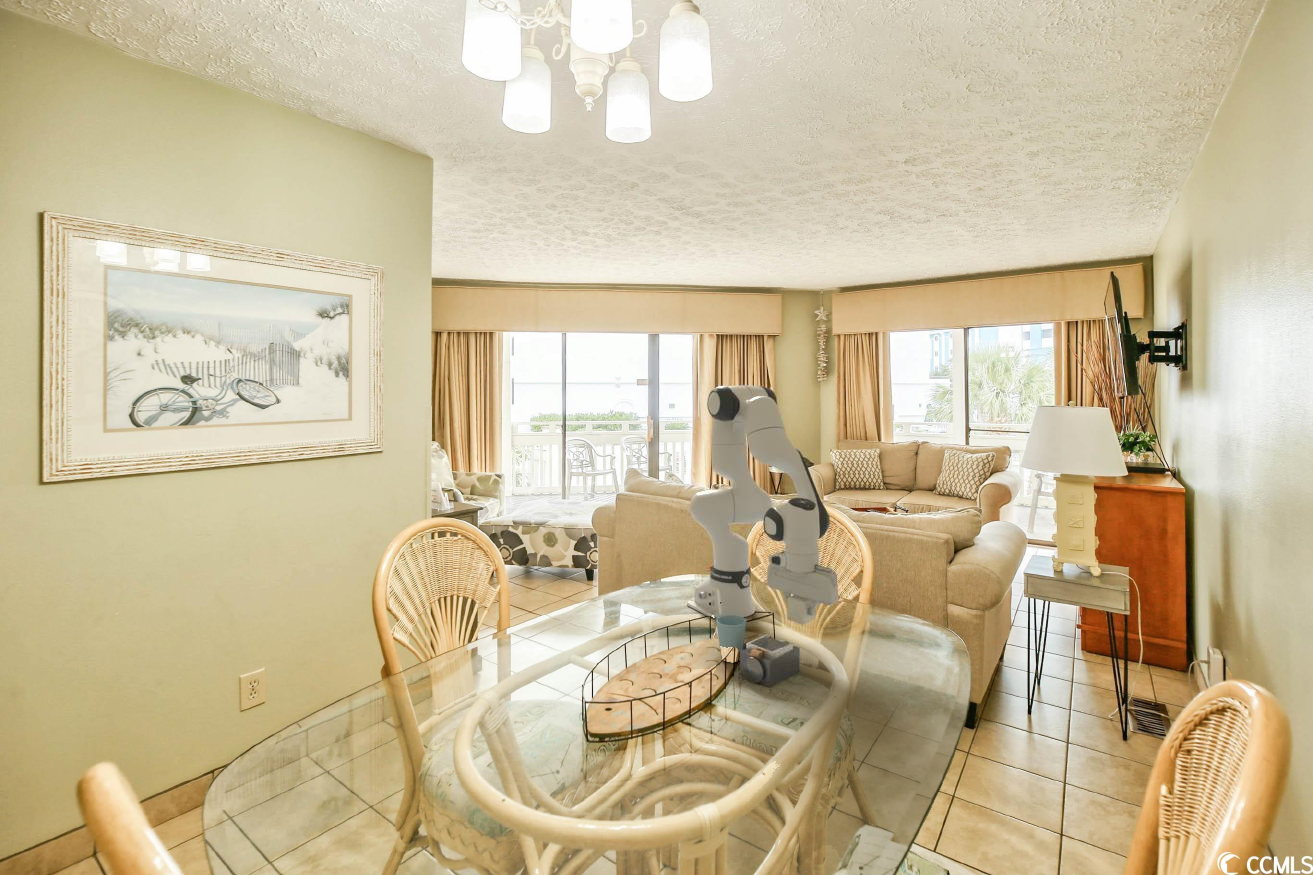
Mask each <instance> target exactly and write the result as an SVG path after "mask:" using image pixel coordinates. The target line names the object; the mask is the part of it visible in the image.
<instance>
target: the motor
mask: <svg viewBox="0 0 1313 875" xmlns="http://www.w3.org/2000/svg"><path fill="white" fill-rule="evenodd" d="M745 647H746V648H743V650H742V651H740V662H739V664H740V665H739V668H740V669H739V671H740V672H739V673H740V674H739V675H740V676H742V677H744V678H746V679H747V680H748V681H749V682H750V683H752V684H760V685H764V687H765V686H766V687H767V688H772V687H774V686H776V685H777V684H779V683H781V682H783V681H785V680H787V679H788V678H790V677H792V676H795V675H796V674H798V673H800V671H801V670H800V668H801V666H800V665H801V664H800V663H801V662H800V660H801V659H800V658H801V657H800V650H801V649H800V647H799V646H796V645H794V643H792V642H789V641H787V640H779V639H776V638H772V637H769V636H768V634H764V635H761V636H759V637H757V638H755V639H752V640H750V641H749V642H746V643H745Z"/></svg>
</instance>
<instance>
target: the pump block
mask: <svg viewBox="0 0 1313 875" xmlns="http://www.w3.org/2000/svg"><path fill="white" fill-rule="evenodd" d="M812 605H813V604H811V600H809V599H806V598H803V597H800V596H796V595H793V594H792V595H791V596H790V597H788V608H787V620H788V621H792V622H794V623H797V624H800V625H802V626H804V625H806V624H809V623H810V622H812V621H814V620H815V619H816V618H815V617H816V615H815V616H810V615H808V614H807V613H808V611H807V609H808V608H810V607H812Z"/></svg>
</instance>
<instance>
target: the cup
mask: <svg viewBox="0 0 1313 875" xmlns="http://www.w3.org/2000/svg"><path fill="white" fill-rule="evenodd" d="M715 622H716V628H717V636H718V642H719V643H718V644H719V647H720V646H722V647H726V648H728V647H736V648H737V649H738V650H739V652H740V651H742V650H744V647H745V645H744V644H745V636H746V627H747V619H746V617H741V616H737V615H724V616H720V617H718V618H716V621H715Z"/></svg>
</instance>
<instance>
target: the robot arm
mask: <svg viewBox="0 0 1313 875" xmlns="http://www.w3.org/2000/svg"><path fill="white" fill-rule="evenodd" d="M776 395H777V394H775V392H774V390H772V389H770V387H766V386H762V385H760V386H757V385H756V386H755V385H749V384H741V385H728V386H727V385H721V386H717V387H714V388H712V389H711V391H710V393H709V394H708V397H707V403H706V404H707V406H706V407H707V410H708V413H709V415H710V417H711V418H712V419H713V421H712V425H711V435H710V436H711V437H710V438H711V440H710V441H711V468H712V470H713V472H714V473H715V474H716V475H718V476H720V477H721V478H723V479H726V480H728V481H729V482H730V484H731V488H724V489H721V488H719V489H707V490H703V491H699V492H695V493H694V495H693V496H692V498H691V499H690V503H689V512H690V515H691V517H692V519H693V520H694V521H695V522H696V523H698V524H699V525H700V526H701V527H702V528H704V530H705V531H706V532H707V534H708V535H709V537H710V540H711V543H712V551H713V565H712V566H710V567H707V572H710V574H709V576H708V577H707V578H706V579H704V580H703V581H701V582H700V583H699V584H697V585H696V587H695V589H694V595H693V597H692V598H690V599H688V601H686V602H687V603H686V605H687V606H688V607H689V608H692V609H693V610H695V611H698V612H699V613H702V614H703V615H704V616H707V617H709V618H711V617H710V616H711V615H714V617H716V618H715V619H717V618H718V617H720V616H724V615H737V616H741V617H743V618H746V617H750V616H752V615H753V614H754V613H755V611H756V609H755V605H754V602H753V598H752V591H751V577H752V576H751V575H752V574H751V573H752V572H751V566H750V545H749V542H748V540H746V538H745V537H743V536H741V535H739V534H737V533H734V531H733V532H732V531H731V529H730V525H735V524H736V525H739V524H742V525H743V524H755V523H759V522H763V525H762V526H763V530H764V533H765V534H766V536H767V537H768V538H770V539H771V540H772V541H775V542H783V543H784V545H785V547H784V550H783V551H778V552H775V553H772V554H771V555H769V556H768V563H769V564H768V565H767V570H766V571H767V572H766V583H767V586H768V587H769V588H771V589H774V590H778V591H780V592H782V595H783V597H784V599H785V602H786V608H787V609H788V597H790V596H793V595H796V596H800V597H803V598H806V599H809V600H811V604H813V605H812V607H810V608H808V609H807V611H808V613H807V614H808V615H810V616H815V617H816V614H817V608H818V607H819V605H820V604H823V605H826V606H831V605H834V604H836V603H837V602H838V601H839V589H838V588H839V587H838V575H837V573H836V572H835V571H834V570H833V568H831V567H826V566H822V565H820V547H819V540H820V539H822V538H823V537H824V536H825V534H826V533H827V532H828V530H829V528H830V526H831V525H830V524H831V518H830V514H829V513H828V509H826V507H825V505H824V503H823V501H822V500H821V498H820V495H819V492H818V490H817V488H816V485H815V483H814V480H813V477H812V474H811V473H810V470H809V467H808V464H807V462H806V460H805V458H804V456H803V453H802V452H801V451H800V450H799V449H797V448H795V446H794V445H793V444H792V443H791V441H790V439H789V438H788V435H787V433H786V428H785V424H784V420H783V418H782V414H781V413H780V412H781V411H780V409H779V407H778V401H777V396H776ZM747 445H748V448H747ZM748 450H749V452H750V453H751V455H752V456H753V458H754V459H755V460H756V461H758V462H759V463H761V464H763V465H764V466H765V465H766V466H769V467H773V468H775V469H778V470H780V471H782V472H784V473H785V474H787V475H788V476H789V477H790V479H791V480H792V482H793V486H794V489H795V491H796V493H797V496H798V497H793V498H791V499H789V500H787V502H786V503H784V504H781V505H776V506H773V501H772V499H771V496H770V495H769V493H768V492H767V491H766V490H765V489H764V488H762V487H761V486H759V485H758V484H757V482H756V481H755V480H754V478H753V476H752V474H751V471H750V468H749V463H748V462H749V461H748ZM720 602H722V603H721V604H720Z"/></svg>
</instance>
